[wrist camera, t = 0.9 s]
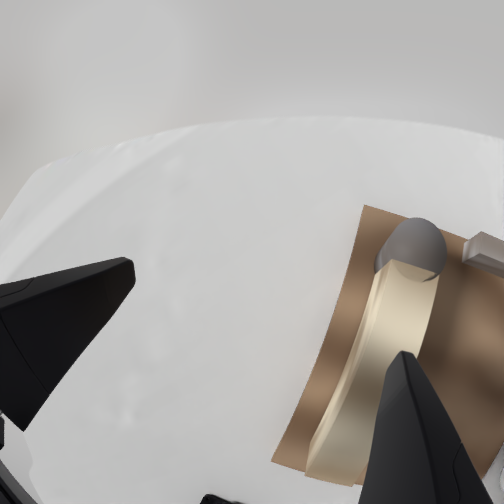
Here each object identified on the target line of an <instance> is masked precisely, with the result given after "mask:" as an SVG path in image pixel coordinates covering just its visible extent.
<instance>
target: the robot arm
mask: <svg viewBox="0 0 504 504" xmlns="http://www.w3.org/2000/svg"><path fill="white" fill-rule="evenodd" d="M135 282H136V278H135V270H134V263H133V261H132V260H130V259H128V258H125V257H119V258H115V259H110V260H106V261H101V262H97V263H93V264H88V265H84V266H79V267H75V268H71V269H67V270H62V271H58V272H54V273H50V274H45V275H41V276H37V277H33V278H29V279H25V280H20V281H16V282H11V283H6V284H1V285H0V450H1V449H2V448H3V446H4V419H3V418H2V416H1V415H2V413H4V414H5V415H6V416H7V417H8V418H9V419H10V420H11V421H12V422H13V423H14V424H15V425H16V426H17V427H19V429H21V430H22V431H23V432H24V431H25V430H26V428H27V427H28V425H29V424H30V423H31V421H32V420H33V418H34V417H35V415H36V414H37V412H38V411H39V410H40V408H41V407H42V405H43V404H44V403H45V401H46V400H47V398H48V397H49V396H50V395H49V394H51V393H52V391H53V390H54V389H55V387H56V386H57V385H58V383H59V382H60V381H61V379H62V378H63V377H64V375H65V374H66V373H67V371H68V370H69V369H70V368H71V366H72V365H73V364H74V362H75V361H76V360H77V359H78V357H79V356H80V355H81V354H82V352H83V351H84V350H85V349H86V347H87V346H88V345H89V344H90V343H91V341H92V340H93V339H94V338H95V336H96V335H97V334H98V333H99V332H100V330H101V329H102V328H103V327H104V326H105V325H106V323H107V322H108V321H109V320H110V319H111V317H112V316H113V315H114V313H115V312H116V311H117V309H118V308H119V306H120V305H121V303H122V302H123V301H124V299H125V298H126V296H127V295H128V294H129V292H130V291H131V289H132V288H133V287H134V285H135ZM208 498H209V499H208ZM0 504H37V503H36V502H35V501H34V500H33V499H32V497H31V496H30V495H29V494H28V493H27V492H26V491H25V490H24V489H23V488H22V486H21V485H20V484H19V483H18V482H17V480H15V478H14V477H13V476H12V474H11V473H10V472H9V470H8V469H7V468H6V467H5V465H4V464H3V463H2V461H1V460H0ZM200 504H230V503H228V502H226V501H223V500H221V499H219V498H216V497H214V496H212V495H210V494H206V495H205V496H204V497H203V499H202V501H201V503H200ZM358 504H493V502H492V500H491V498H490V496H489V494H488V492H487V490H486V488H485V486H484V484H483V483H482V481H481V479H480V477H479V475H478V473H477V471H476V469H475V467H474V465H473V463H472V461H471V459H470V457H469V455H468V453H467V451H466V449H465V447H464V444H463V443H461V438H460V436H459V434H458V432H457V430H456V428H455V426H454V424H453V422H452V420H451V419H450V417H449V415H448V413H447V411H446V409H445V407H444V405H443V404H442V402H441V400H440V398H439V396H438V395H437V393H436V391H435V389H434V387H433V386H432V384H431V382H430V381H429V379H428V377H427V375H426V374H425V372H424V370H423V369H422V367H421V365H420V364H419V362H418V360H417V359H416V357H415V356H414V354H413V353H411V352H407V351H403V350H402V351H400V352H399V353H398V354H397V355H396V357H395V358H394V360H393V361H392V363H391V364H390V365H389V367H388V369H387V371H386V374H385V379H384V384H383V389H382V393H381V398H380V402H379V407H378V411H377V415H376V421H375V427H374V433H373V440H372V445H371V451H370V456H369V461H368V466H367V471H366V475H365V479H364V483H363V487H362V491H361V495H360V499H359V502H358Z"/></svg>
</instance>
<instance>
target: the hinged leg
mask: <svg viewBox="0 0 504 504" xmlns="http://www.w3.org/2000/svg"><path fill="white" fill-rule="evenodd" d="M446 260H447V246H446V242H445V239H444V237H443V235H442V233H441V232H440V230H439V229H438V228H437V227H436V226H435V225H434V224H433V223H431V222H430V221H428V220H425V219H422V218H410V219H407V220H404V221H403V222H401V223H400V224H399V225H398V226H397V227H396V228H395V230H394V231H393V233H392V234H391V235H390V237H389V238H388V239H387V241H386V242H385V244H384V245H383V246H382V248H381V249H380V250H379V252H378V253H377V255H376V257H375V261H374V272H375V277H374V280H373V284H372V288H371V291H370V295H369V298H368V301H367V305H366V308H365V311H364V314H363V317H362V320H361V323H360V326H359V329H358V332H357V335H356V338H355V341H354V344H353V346H352V349H351V352H350V355H349V357H348V360H347V362H346V365H345V368H344V370H343V373H342V375H341V377H340V380H339V382H338V385H337V387H336V389H335V392H334V394H333V396H332V398H331V401H330V403H329V405H328V407H327V409H326V412H325V414H324V416H323V418H322V420H321V422H320V424H319V426H318V428H317V430H316V432H315V434H314V436H313V438H312V440H311V442H310V447H309V453H308V459H307V465H306V471H305V476H307V477H311V478H314V479H318V480H322V481H326V482H331V483H335V484H340V485H345V486H350V487H352V486H353V484H354V483H355V481H356V480H357V478H358V477H359V475H360V474H361V472H362V471H363V469H364V468H365V466H366V464H367V463H368V461H369V456H370V451H371V445H372V440H373V433H374V427H375V421H376V415H377V411H378V407H379V402H380V398H381V393H382V389H383V384H384V379H385V374H386V371H387V369H388V367H389V365H390V364H391V363H392V361H393V360H394V358H395V357H396V355H397V354H398V353H399V352H400V351H402V350H403V351H407V352H411V353H413V354H414V356H415V357H416V359H417V357H418V354H419V351H420V348H421V345H422V341H423V338H424V335H425V332H426V328H427V325H428V321H429V318H430V314H431V310H432V306H433V302H434V298H435V293H436V289H437V284H438V279H439V274H440V273H441V272H442V270H443V268H444V266H445V264H446Z"/></svg>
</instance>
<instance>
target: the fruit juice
mask: <svg viewBox="0 0 504 504" xmlns="http://www.w3.org/2000/svg"><path fill="white" fill-rule="evenodd" d="M500 486H501V489H502V490H503V492H504V467H503V470H502V472H501V476H500Z"/></svg>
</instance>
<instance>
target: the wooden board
mask: <svg viewBox="0 0 504 504" xmlns="http://www.w3.org/2000/svg"><path fill="white" fill-rule="evenodd" d="M407 219H409V218H406V217H403V216H400V215H397V214H393V213H390V212H387V211H384V210H380V209H377V208H374V207H370V206H367V205H364V207H363V211H362V214H361V219H360V223H359V227H358V231H357V235H356V239H355V243H354V246H353V250H352V254H351V258H350V261H349V265H348V268H347V272H346V275H345V278H344V282H343V285H342V288H341V291H340V295H339V298H338V301H337V304H336V307H335V310H334V313H333V316H332V319H331V322H330V325H329V327H328V330H327V333H326V336H325V339H324V341H323V344H322V347H321V349H320V352H319V355H318V357H317V360H316V362H315V365H314V367H313V370H312V372H311V375H310V377H309V380H308V382H307V384H306V387H305V389H304V392H303V394H302V396H301V398H300V401H299V403H298V405H297V407H296V410H295V412H294V414H293V416H292V418H291V420H290V423H289V425H288V427H287V429H286V431H285V433H284V435H283V437H282V439H281V441H280V443H279V445H278V447H277V449H276V451H275V453H274V455H273V457H272V459H271V462H274V463H277V464H280V465H283V466H286V467H289V468H292V469H295V470H299V471H302V472H305V471H306V465H307V459H308V453H309V447H310V442H311V440H312V438H313V436H314V434H315V432H316V430H317V428H318V426H319V424H320V422H321V420H322V418H323V416H324V414H325V412H326V409H327V407H328V405H329V403H330V401H331V398H332V396H333V394H334V392H335V389H336V387H337V385H338V382H339V380H340V377H341V375H342V373H343V370H344V368H345V365H346V362H347V360H348V357H349V355H350V352H351V349H352V346H353V344H354V341H355V338H356V335H357V332H358V329H359V326H360V323H361V320H362V317H363V314H364V311H365V308H366V305H367V301H368V298H369V295H370V291H371V288H372V284H373V280H374V277H375V272H374V261H375V257H376V255H377V253H378V252H379V250H380V249H381V248H382V246H383V245H384V244H385V242H386V241H387V239H388V238H389V237H390V235H391V234H392V233H393V231H394V230H395V228H396V227H397V226H398V225H399V224H400V223H401V222H403V221H404V220H407ZM439 230H440V232H441V233H442V235H443V237H444V239H445V242H446V246H447V260H446V264H445V266H444V268H443V270H442V272H441V273H440V274H439V279H438V284H437V289H436V293H435V298H434V302H433V306H432V310H431V314H430V318H429V321H428V325H427V328H426V332H425V335H424V338H423V341H422V345H421V348H420V351H419V354H418V357H417V360H418V362H419V364H420V365H421V367H422V369H423V370H424V372H425V374H426V375H427V377H428V379H429V381H430V382H431V384H432V386H433V387H434V389H435V391H436V393H437V395H438V396H439V398H440V400H441V402H442V404H443V405H444V407H445V409H446V411H447V413H448V415H449V417H450V419H451V420H452V422H453V424H454V426H455V428H456V430H457V432H458V434H459V436H460V438H461V443H463V444H464V447H465V449H466V451H467V453H468V455H469V457H470V459H471V461H472V463H473V465H474V467H475V469H476V471H477V473H478V475H479V477H480V479H481V480H482V478H483V477H484V475H485V474H486V472H487V470H488V469H489V467H490V466H491V464H492V462H493V461H494V459H495V457H496V455H497V454H498V452H499V450H500V448H501V446H502V444H503V442H504V241H502V240H500V239H498V238H496V237H493V236H491V235H489V234H486V233H484V232H482V231H481V232H480V233H478V234H477V235H475V236H474V237H473V238H471V239H470V240H467V239H465V238H462V237H460V236H457V235H454V234H452V233H449V232H446V231H444V230H441V229H439ZM367 466H368V463H367V464H366V466H365V468H364V469H363V471H362V472H361V474H360V475H359V477H358V478H357V480H356V481H355V483H354V484H358V485H363V483H364V479H365V475H366V471H367Z"/></svg>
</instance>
